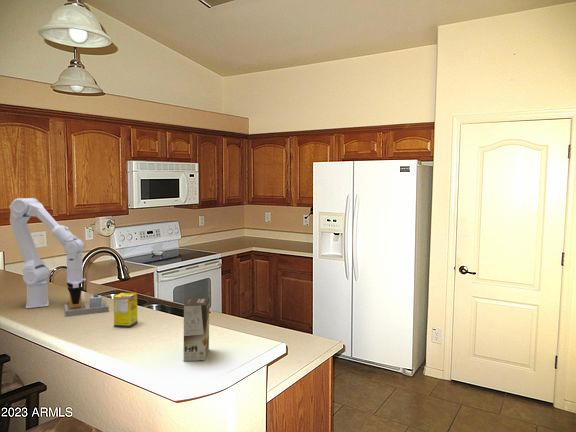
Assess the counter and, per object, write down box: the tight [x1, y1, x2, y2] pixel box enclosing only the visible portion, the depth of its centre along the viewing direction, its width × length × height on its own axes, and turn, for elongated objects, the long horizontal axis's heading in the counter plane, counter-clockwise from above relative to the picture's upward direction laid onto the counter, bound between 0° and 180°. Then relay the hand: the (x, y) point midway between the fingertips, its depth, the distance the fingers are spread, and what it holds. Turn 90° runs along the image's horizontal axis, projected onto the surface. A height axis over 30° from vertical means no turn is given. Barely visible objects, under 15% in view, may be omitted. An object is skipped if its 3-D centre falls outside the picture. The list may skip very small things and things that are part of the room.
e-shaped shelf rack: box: [64, 299, 110, 317], centre depth 166 cm, size 11×15×2 cm
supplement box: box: [113, 292, 138, 329], centre depth 149 cm, size 6×6×11 cm
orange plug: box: [68, 292, 82, 308], centre depth 172 cm, size 4×4×6 cm
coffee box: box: [183, 296, 210, 362], centre depth 123 cm, size 9×6×16 cm
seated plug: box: [89, 293, 103, 308], centre depth 168 cm, size 4×4×6 cm
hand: (75, 301), depth 172 cm, fingers open, 7 cm apart
